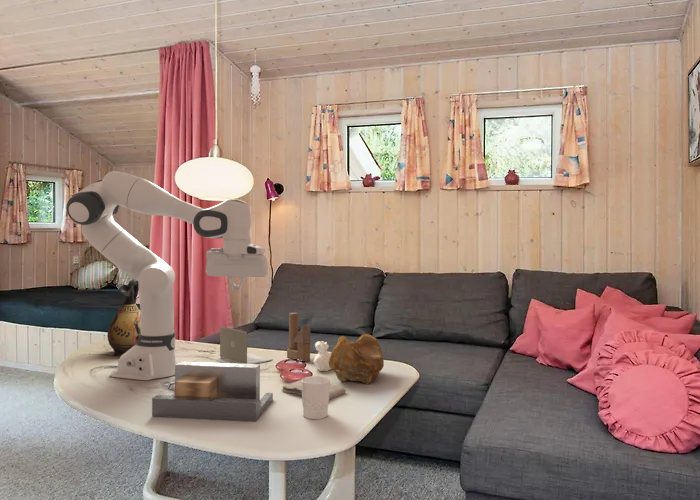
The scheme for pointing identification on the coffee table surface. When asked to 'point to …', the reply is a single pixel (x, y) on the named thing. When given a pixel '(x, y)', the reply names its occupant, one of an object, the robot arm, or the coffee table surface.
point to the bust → (322, 356)
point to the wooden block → (298, 340)
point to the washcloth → (296, 389)
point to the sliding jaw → (225, 377)
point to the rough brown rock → (357, 359)
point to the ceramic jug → (125, 321)
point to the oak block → (196, 386)
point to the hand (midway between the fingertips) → (236, 290)
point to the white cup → (315, 396)
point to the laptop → (237, 347)
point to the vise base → (209, 407)
